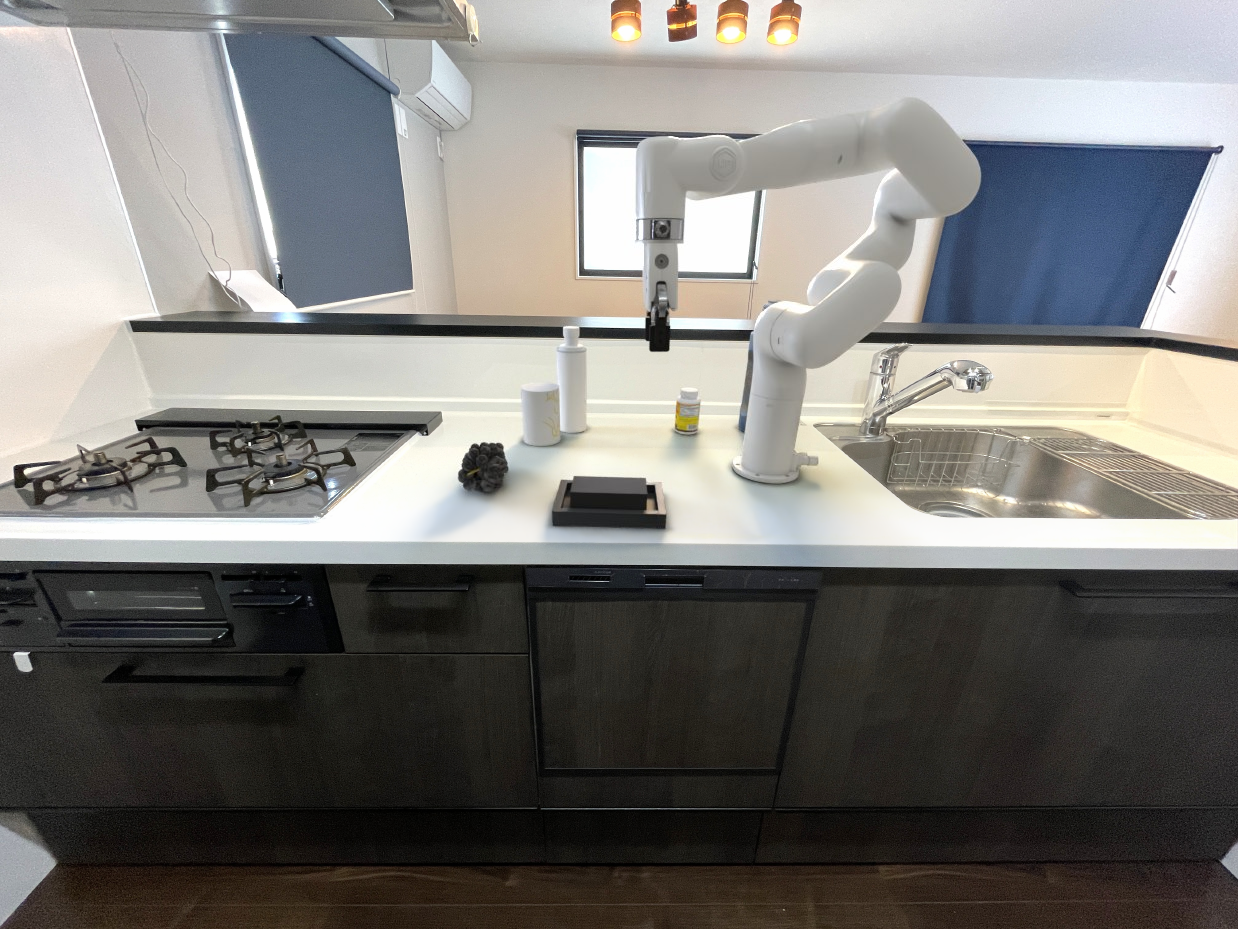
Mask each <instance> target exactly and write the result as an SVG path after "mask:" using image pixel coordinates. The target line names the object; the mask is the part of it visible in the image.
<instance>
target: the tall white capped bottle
mask: <svg viewBox="0 0 1238 929" xmlns="http://www.w3.org/2000/svg"><path fill="white" fill-rule="evenodd" d="M562 337H564V338H563V339H564V343H561V344H558V346H557V347H556V384H557V385H559V394H560V432H562V433H567V434H576V433H583V432H585V431H586V430H587V428H588V427H587V426H588V423H587V422H588V417H587V415H588V414H587V411H588V408H587V407H588V406H587V405H588V404H587V402H588V401H587V400H588V398H587V396H588V395H587V394H588V393H587V389H588V388H587V386H588V385H587V384H588V382H587V381H588V380H587V376H588V374H587V369H588V368H587V366H588V364H587V348H586V347H584V345H583V344H582V343H579V337H580V327H579V326H576V325H575V326H574V325H565V326H563V327H562Z"/></svg>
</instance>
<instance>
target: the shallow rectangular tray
mask: <svg viewBox="0 0 1238 929" xmlns="http://www.w3.org/2000/svg"><path fill="white" fill-rule="evenodd" d="M572 482H573V479H560V481H559V485H558V487H557V488H558V489H557V492H556V496H555V500H554V503H553V507H552V511H551V521H552V523H551V524H552V525H551V526H554V527H555V526H557V527H592V528H595V527H596V528H628V529H629V528H631V529H661V530H662V529H664V530H665V529H666V528H667V509H666V503H665V502H666V501H665V497H664V496H665V495H664V490H663V489H664V488H663V484H662V482H661V481H646V484H647V510H617V509H580V508H570V491H571V486H572Z"/></svg>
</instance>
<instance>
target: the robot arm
mask: <svg viewBox="0 0 1238 929" xmlns="http://www.w3.org/2000/svg"><path fill="white" fill-rule="evenodd" d="M978 160H979V159H978V158H977V157H976V155H975V154H974V153H973V152H972V150H971V149H970V147H969V146H968V145H967V144H966V143H965V142H964V140H963V139H962V138H961V137H960V136H959V135H958V134H957V132H956V131H955V130H954V128H952V126H951V125H950V124H949V123H948V121H947V120H946V119H944V117H943V116H942V115H941V114H940V113H939V112H938V111H937V110H936V109H934V107H933V106H931V105H930V104H929V103H927V102H926V101H924V100H922V99H920V98H917V97H914V96H907V97H902V98H899V99H896V100H894V101H891V102H888V103H886V104H883V105H881V106H878V107H875V108H873V109H867V110H864V111H863V110H862V111H858V112H850V113H844V114H839V115H832V116H826V117H818V118H817V117H816V118H811V119H810V118H809V119H803V120H799V121H795V122H792V123H789V124H786V125H783V126H780V127H777V128H775V129H772V130H770V131H768V132H765V133H762V134H759V135H757V136H753V137H750V138H746V139H741V140H738V141H737V140H736V139H734V138H732V137H730V136H726V135H721V134H720V135H719V134H716V135H707V136H701V137H700V136H699V137H693V138H679V137H676V136H651V137H647V138H644V139H642V140H641V141H640V142H639V143H638V144H637V147H636V151H635V211H634V213H635V216H634V217H635V218H634V219H635V222H634V224H635V226H634V228H635V229H634V230H635V231H634V236H635V237H634V239H635V240H634V244H635V245H642V297H643V298H642V299H643V305H644V308H645V309H646V314H645V315H646V317H645V318H644V319H645V320H644V340H645V341H646V342H648V350H649V352H651V353H668V352H669V351H670V349H671V348H670V346H671V325H670V323H671V319H670V316H671V315H670V310H671V311H672V312H676V311H677V310H678V308H679V249H678V247H679V246H678V245H679V244H681V245H682V244H685V243H684V242H685V223H686V222H685V218H686V199H688V200H690V201H703V200H708V199H715V198H722V197H727V196H733V195H738V194H739V195H740V194H744V193H750V192H758V191H767V190H768V191H769V190H783V189H788V188H794V187H800V186H806V185H810V184H817V183H822V182H823V183H824V182H829V181H835V180H841V179H847V178H848V179H849V178H853V177H858V176H865V175H869V174H874V173H878V172H882V171H888V170H891V171H889V173H887V174H886V175H885V176H884V178H883V179H882V180H881V181H880V184H879V185H878V187H877V190H876V193H875V198H874V201H873V202H874V203H873V212H872V218H871V222H870V225H869V227H868V228H867V230H866V232H865V233H864V234H863V235H862V236H861V237H860V238H859V239H858V240H857V241H855V242H854V243H853V244H852V245H851V246H850V247H848V248H847V249H846V250H845V251H843V252H842V253H841V254H840V255H838V256H837V257H836V258H835V259H834V260H832V261H831V262H830V263H829V264H827V265H826V266H824V268H822V269H821V270H820V271H819V272H818V273H817V274H816V275H815V276H814V277H813V279H812V280H811V281H810V283H809V285H808V289H807V292H806V298H807V303H808V304H805V303H801V302H795V301H788V302H779V303H775V304H773V305H771V306H769V307H768V308H766V309H765V310H764V311H763V310H762V312H761V313H760V314H759V316H758V317H757V319H756V322H755V325H754V328H753V331H754V334H753V354H754V363H753V376H752V384H751V391H750V398H749V405H748V413H747V420H746V428H745V432H744V437H743V443H742V450H741V451H742V452H741V455H738V456H736V457H735V458H734V459H733V460H732V469H733V471H734V472H735V473H736V474H737V475H739V476H740V477H743V478H745V479H747V480H750V481H754V482H758V483H763V484H764V483H765V484H787V483H790V482H793V481H795V480H797V479H798V477H799V476H800V474H799V473H800V468H801V467H802V466H808V467H818V465H819V460H820V459H819V456H818V455H808V453H807V452H806V451H805V452H801V451H799V452H798V451H796V450H795V449H796V442H797V437H798V431H799V427H800V422H801V421H800V420H801V416H802V415H801V414H802V408H803V403H804V398H805V394H806V389H807V378H808V376H807V374H808V373H807V370H814V369H820V368H822V367H825V366H827V365H829V364H831V363H832V362H834V361H835V360H837V359H838V358H840V357H841V356H843V355H844V354H845V353H846V352H848V350H850V349H851V348H853V347H854V346H856V344H858V343H859V342H860V341H861V340H863V339H864V338H865V337H866V336H868V335H869V334H870V333H872V332H873V331H874V330H875V329H876V328H878V327H879V326H880V325H882V324H883V323H884V322H885V321H886V320H887V319H888V318H889V317H890V315H891V314H892V313H893V311H894V310H895V308H896V307H897V305H898V303H899V300H900V298H901V295H902V294H901V293H902V280H901V276H900V274H899V271H900V270H901V269H902V268H903V267H904V266H905V265H906V263H907V261H908V260H909V259H910V256H911V254H912V251H913V247H914V242H915V241H914V240H915V235H916V228H917V226H916V225H917V220H924V219H925V220H926V219H936V218H947V217H951V216H953V215H957V214H958V213H960V212H962V211H963V210H964V209H965V208H967V207H968V206H969V205H970V204H971V203H972V202H973V200H974V199H975V198H976V196H977V194H978V193H979V190H980V186H981V182H982V171H981V170H982V169H981V166H980V163H979V161H978Z"/></svg>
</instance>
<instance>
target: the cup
mask: <svg viewBox="0 0 1238 929" xmlns="http://www.w3.org/2000/svg"><path fill="white" fill-rule="evenodd" d="M520 398H521V401H520V402H521V416H522V417H521V418H522V434H523V435H522V436H523V442H524V443H525V444H526V445H530V446H533V447H534V446H535V447H547V446H549V447H550V446H553V445H556V444H558V443H559V442H561V431H560V394H559V385H557V383H554V382H550V381H549V382H548V381H547V382H546V381H533V382H528V383H524V384H522V385H521V386H520Z"/></svg>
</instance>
